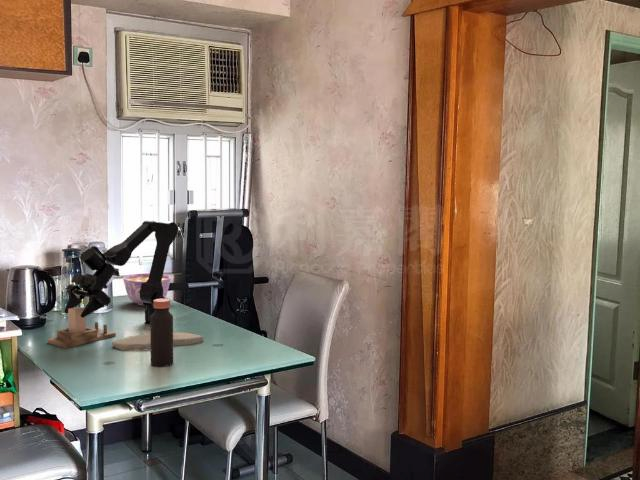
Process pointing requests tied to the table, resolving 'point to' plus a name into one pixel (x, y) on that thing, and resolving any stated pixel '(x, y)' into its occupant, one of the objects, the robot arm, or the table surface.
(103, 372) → the table surface
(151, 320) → the bottle
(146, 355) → the table surface
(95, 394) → the table surface
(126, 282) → the bowl of food
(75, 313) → the clay bar
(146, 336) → the stone tablet
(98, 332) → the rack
